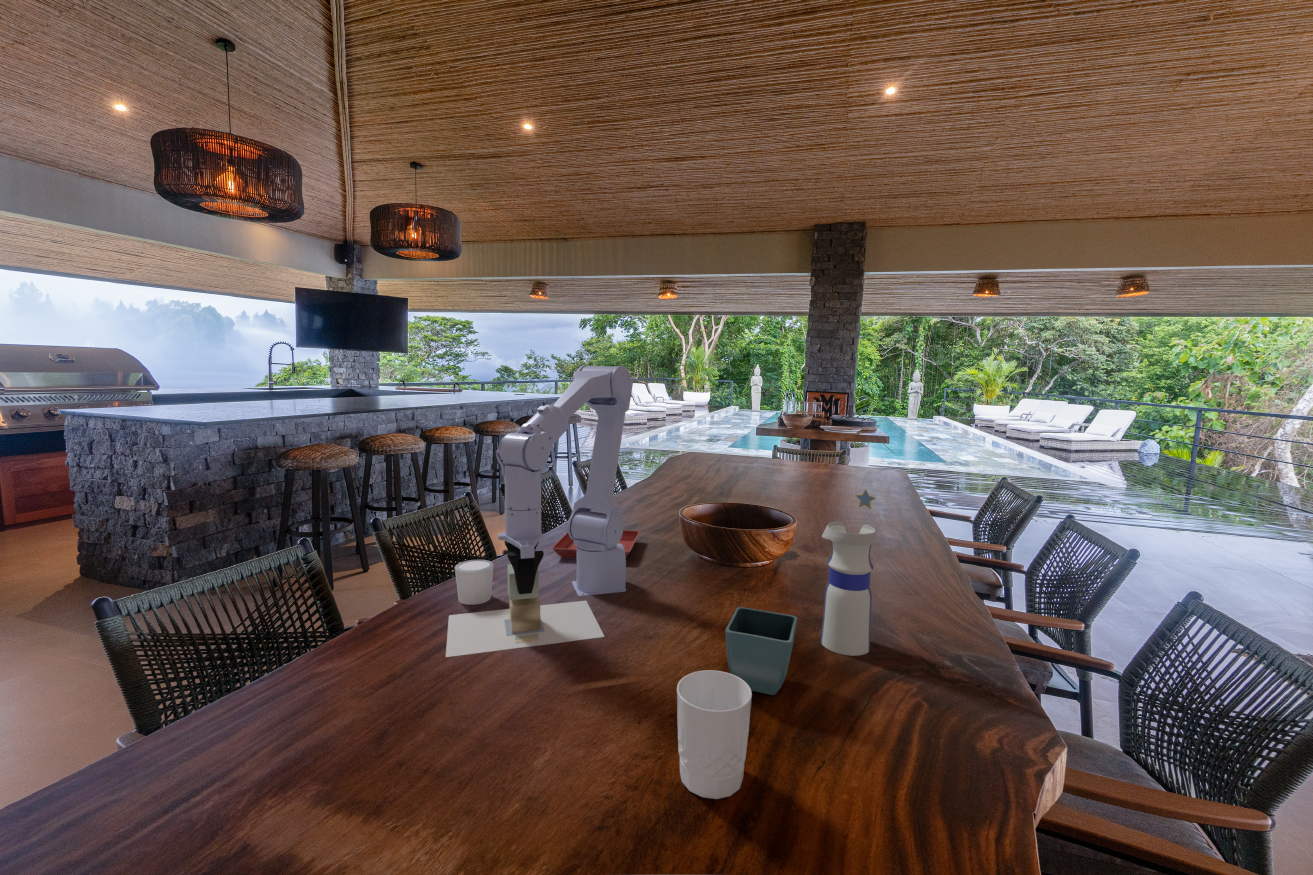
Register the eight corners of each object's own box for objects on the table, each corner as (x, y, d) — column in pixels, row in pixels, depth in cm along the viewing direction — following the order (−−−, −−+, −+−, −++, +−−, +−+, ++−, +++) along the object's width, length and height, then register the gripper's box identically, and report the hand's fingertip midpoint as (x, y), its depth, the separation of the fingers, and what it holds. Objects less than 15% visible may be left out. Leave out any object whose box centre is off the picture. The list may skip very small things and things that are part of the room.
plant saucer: (571, 539, 147) (571, 526, 147) (640, 542, 145) (640, 529, 145) (551, 561, 129) (551, 547, 129) (629, 566, 127) (629, 551, 127)
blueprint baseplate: (586, 603, 106) (586, 600, 106) (604, 640, 92) (604, 636, 91) (448, 618, 98) (448, 614, 98) (445, 660, 84) (445, 656, 84)
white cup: (670, 753, 65) (672, 670, 64) (738, 750, 65) (742, 668, 64) (679, 805, 57) (681, 712, 56) (756, 802, 58) (760, 710, 57)
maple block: (537, 617, 98) (537, 593, 97) (540, 629, 93) (540, 603, 93) (509, 620, 96) (509, 595, 96) (511, 632, 92) (511, 606, 91)
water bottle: (817, 628, 98) (826, 484, 95) (871, 636, 95) (881, 489, 92) (814, 649, 90) (823, 494, 87) (872, 659, 87) (883, 499, 84)
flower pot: (794, 674, 82) (798, 614, 81) (788, 707, 74) (791, 642, 73) (735, 662, 85) (737, 605, 84) (722, 693, 77) (724, 630, 76)
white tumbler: (499, 595, 109) (499, 560, 108) (485, 610, 102) (484, 572, 101) (465, 593, 109) (464, 558, 109) (448, 607, 103) (447, 570, 102)
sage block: (535, 586, 97) (535, 562, 96) (538, 597, 93) (538, 571, 92) (507, 589, 96) (507, 564, 95) (509, 600, 91) (509, 573, 91)
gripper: (495, 498, 98) (496, 574, 100) (500, 519, 84) (501, 607, 86) (537, 496, 100) (537, 570, 102) (548, 516, 87) (548, 602, 88)
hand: (523, 587), depth 94 cm, fingers closed on sage block, 5 cm apart
